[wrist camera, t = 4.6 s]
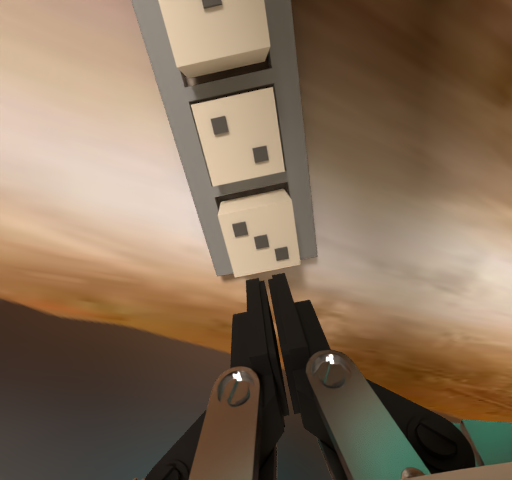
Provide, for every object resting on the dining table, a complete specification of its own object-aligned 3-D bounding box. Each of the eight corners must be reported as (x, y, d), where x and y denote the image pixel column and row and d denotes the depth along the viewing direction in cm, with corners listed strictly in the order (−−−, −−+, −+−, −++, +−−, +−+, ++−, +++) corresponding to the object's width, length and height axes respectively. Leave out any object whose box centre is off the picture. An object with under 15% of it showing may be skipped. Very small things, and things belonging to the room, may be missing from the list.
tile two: (199, 108, 22) (190, 104, 18) (267, 93, 21) (273, 86, 18) (216, 177, 24) (212, 187, 20) (278, 164, 24) (285, 171, 20)
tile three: (221, 201, 23) (217, 216, 20) (283, 188, 23) (292, 200, 20) (235, 256, 26) (234, 278, 22) (292, 245, 26) (301, 265, 22)
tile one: (161, -25, 17) (138, -70, 13) (248, -46, 17) (251, -97, 13) (188, 78, 19) (175, 66, 15) (264, 61, 19) (270, 45, 15)
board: (218, 269, 28) (217, 276, 27) (123, -43, 17) (113, -57, 16) (313, 250, 28) (317, 256, 27) (277, -79, 17) (280, -97, 16)
